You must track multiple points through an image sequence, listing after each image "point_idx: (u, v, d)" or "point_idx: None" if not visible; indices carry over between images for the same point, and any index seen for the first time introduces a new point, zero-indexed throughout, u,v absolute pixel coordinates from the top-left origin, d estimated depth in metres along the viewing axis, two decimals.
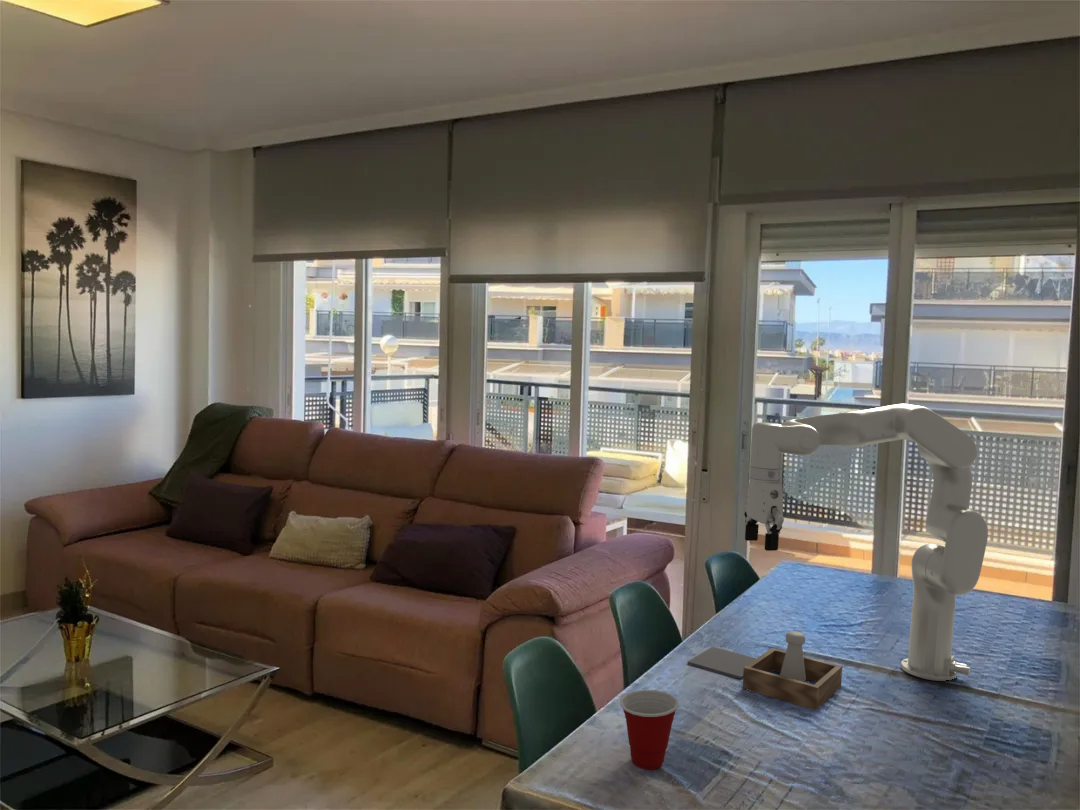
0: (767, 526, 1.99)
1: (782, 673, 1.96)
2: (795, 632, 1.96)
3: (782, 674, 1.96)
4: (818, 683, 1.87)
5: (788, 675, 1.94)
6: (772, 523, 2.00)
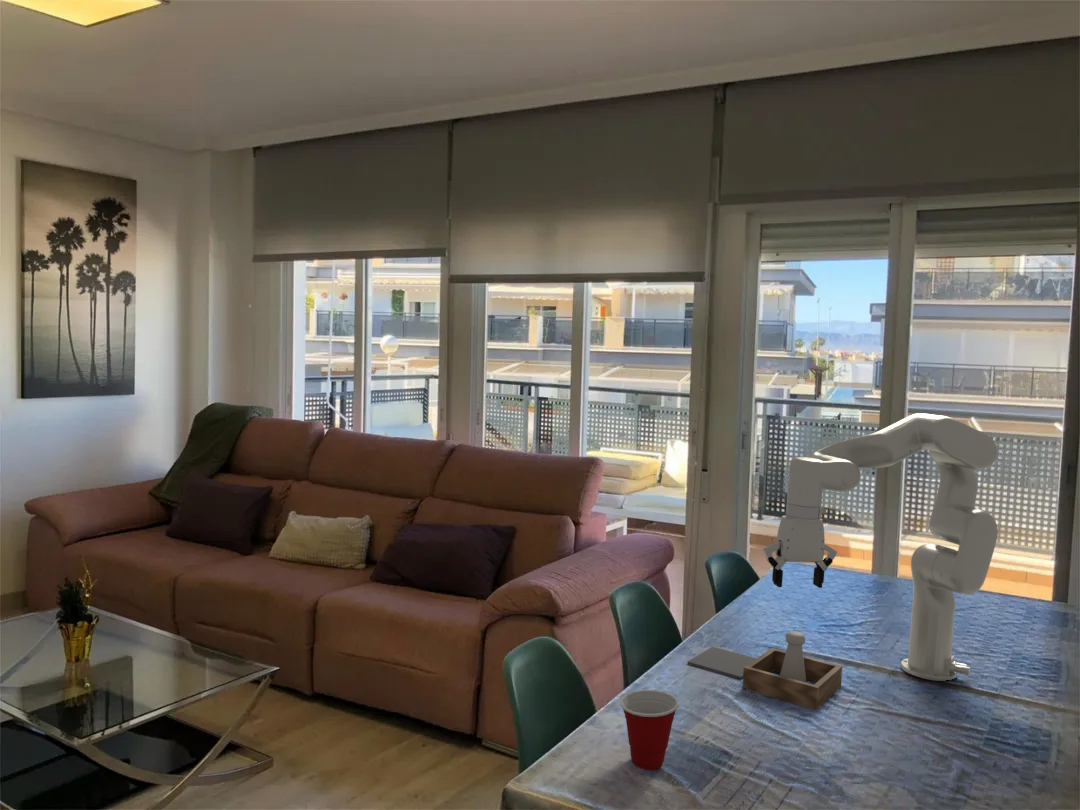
0: (822, 563, 1.94)
1: (782, 673, 1.96)
2: (795, 632, 1.96)
3: (782, 674, 1.96)
4: (818, 683, 1.87)
5: (788, 675, 1.94)
6: None
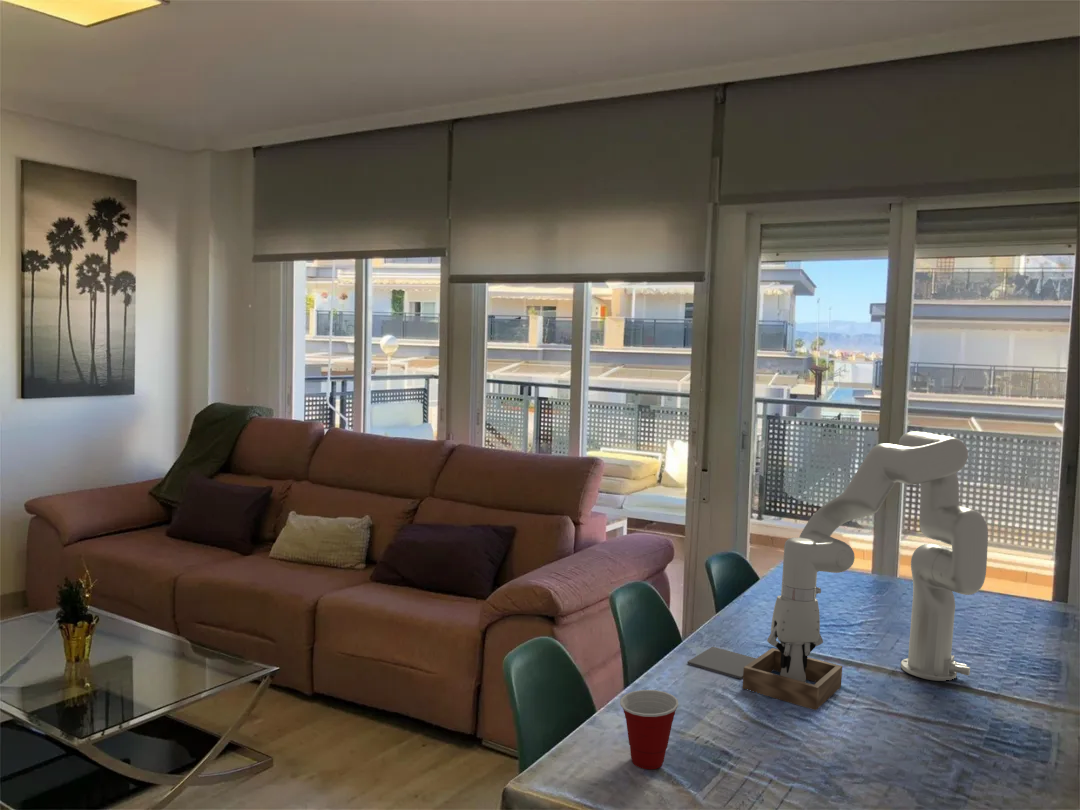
0: (808, 648, 1.95)
1: (782, 673, 1.96)
2: None
3: (782, 674, 1.96)
4: (818, 683, 1.87)
5: (788, 675, 1.94)
6: None
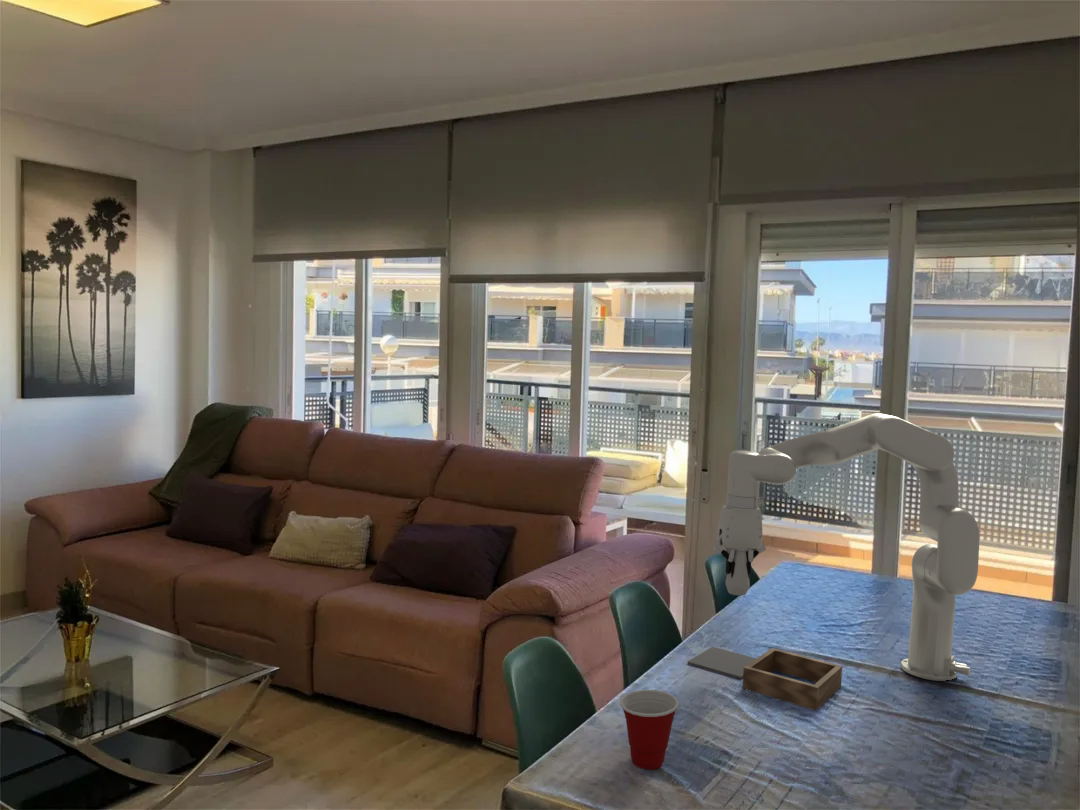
0: (751, 554, 2.06)
1: (727, 579, 2.07)
2: None
3: (727, 580, 2.07)
4: (818, 683, 1.87)
5: (733, 580, 2.05)
6: None
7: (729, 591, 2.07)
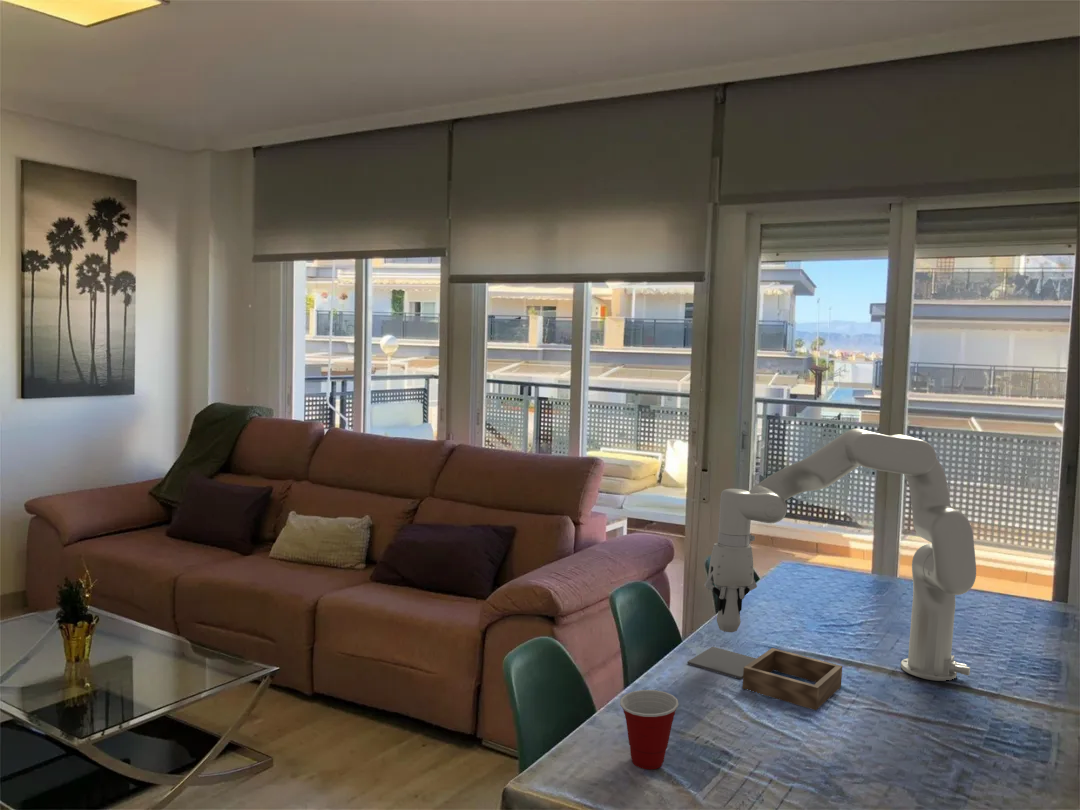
0: (742, 591, 2.08)
1: (718, 615, 2.09)
2: None
3: (718, 616, 2.09)
4: (818, 683, 1.87)
5: (724, 617, 2.07)
6: None
7: (720, 628, 2.09)
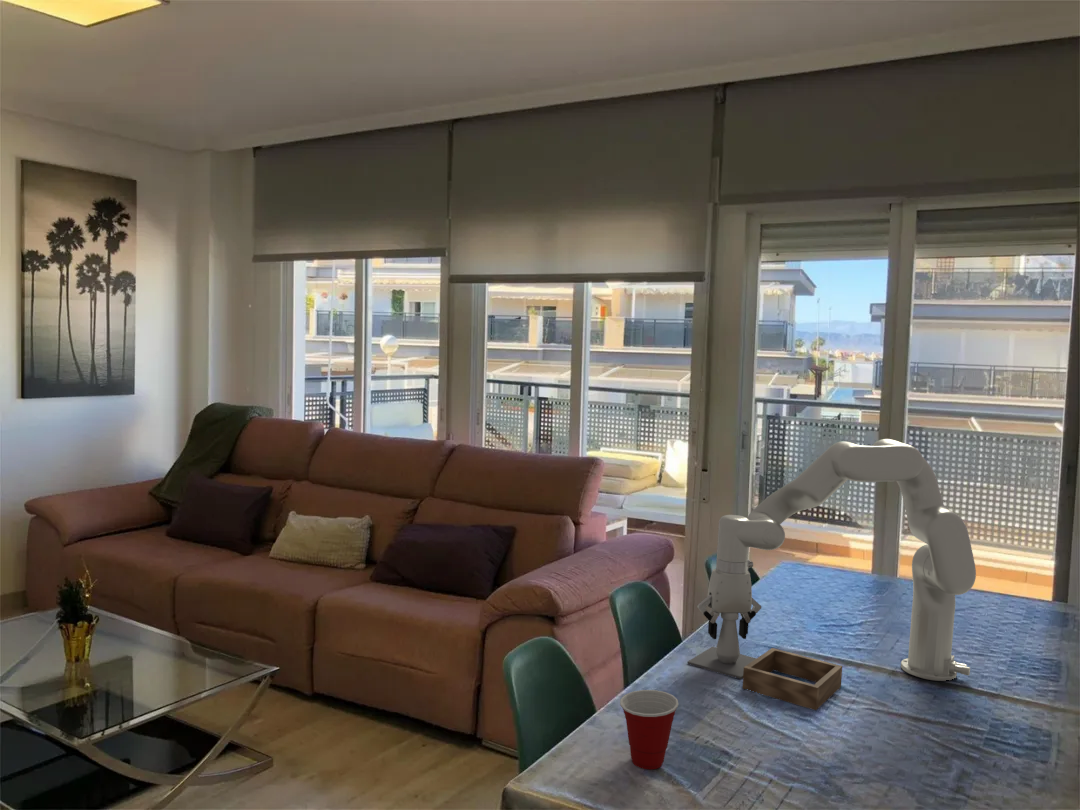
0: (747, 615, 2.09)
1: (718, 647, 2.09)
2: None
3: (717, 648, 2.09)
4: (818, 683, 1.87)
5: (723, 649, 2.08)
6: None
7: (719, 659, 2.10)
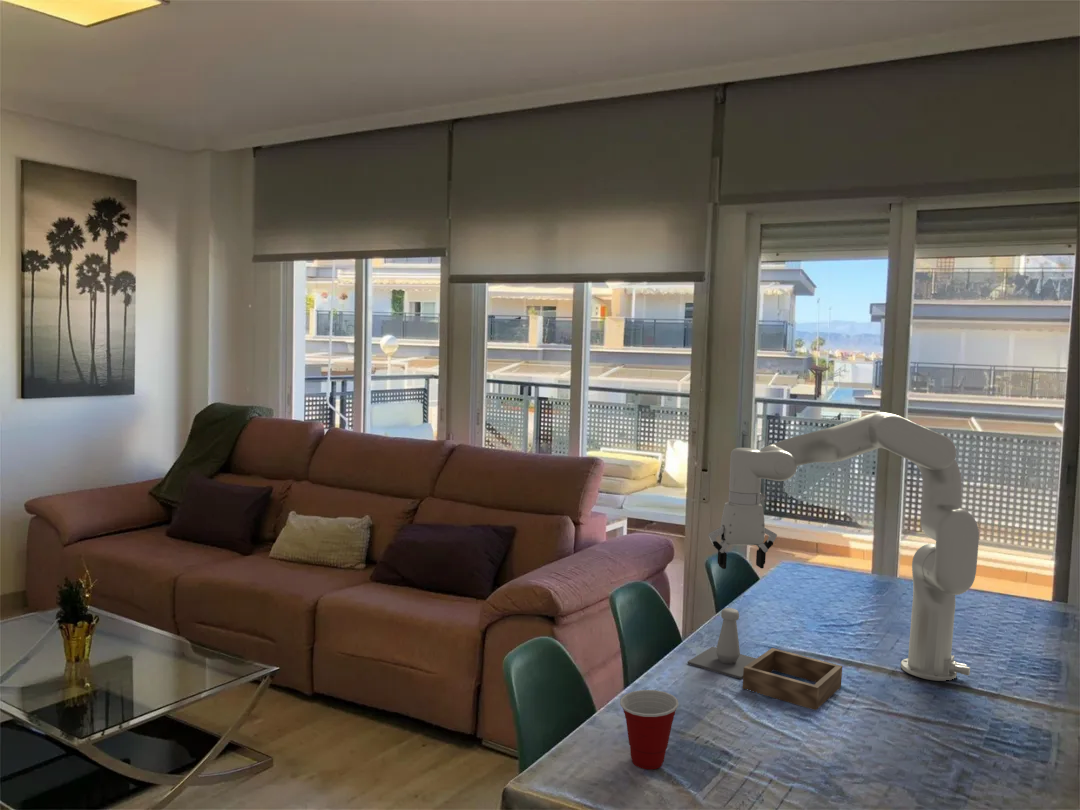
0: (763, 545, 2.09)
1: (718, 647, 2.09)
2: (730, 609, 2.10)
3: (718, 648, 2.09)
4: (818, 683, 1.87)
5: (723, 649, 2.08)
6: None
7: (719, 659, 2.10)
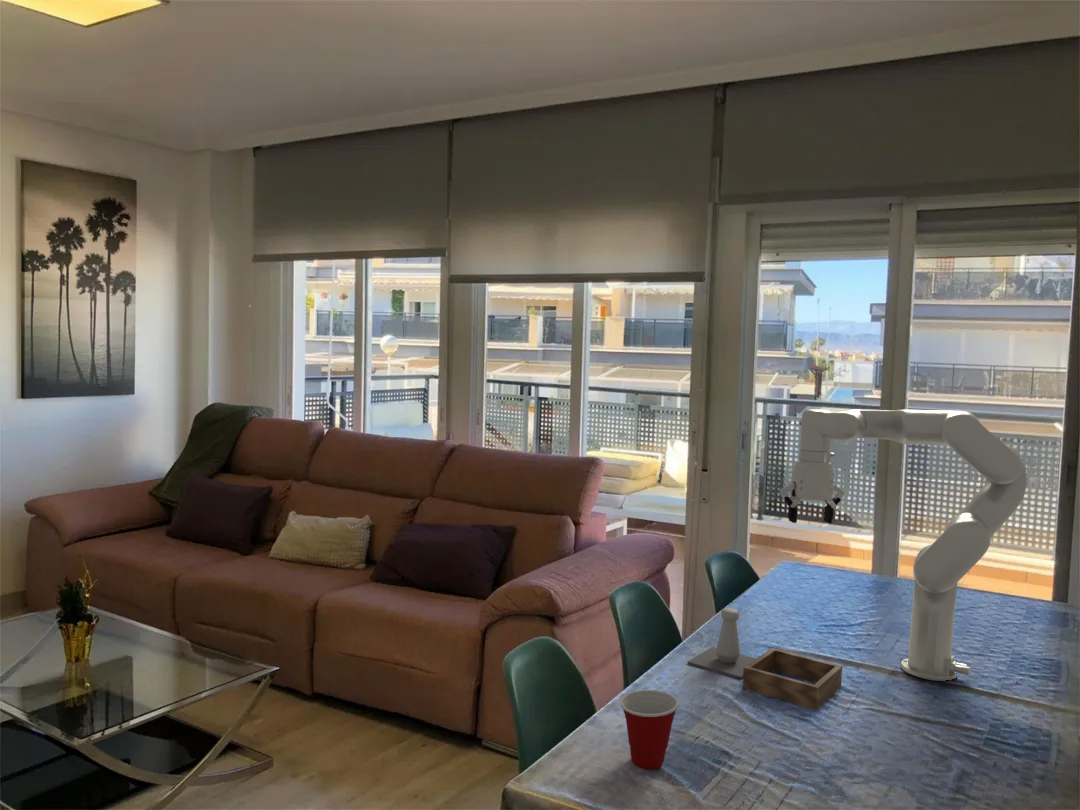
0: (831, 501, 2.21)
1: (718, 647, 2.09)
2: (730, 609, 2.10)
3: (718, 648, 2.09)
4: (818, 683, 1.87)
5: (723, 649, 2.08)
6: None
7: (719, 659, 2.10)
